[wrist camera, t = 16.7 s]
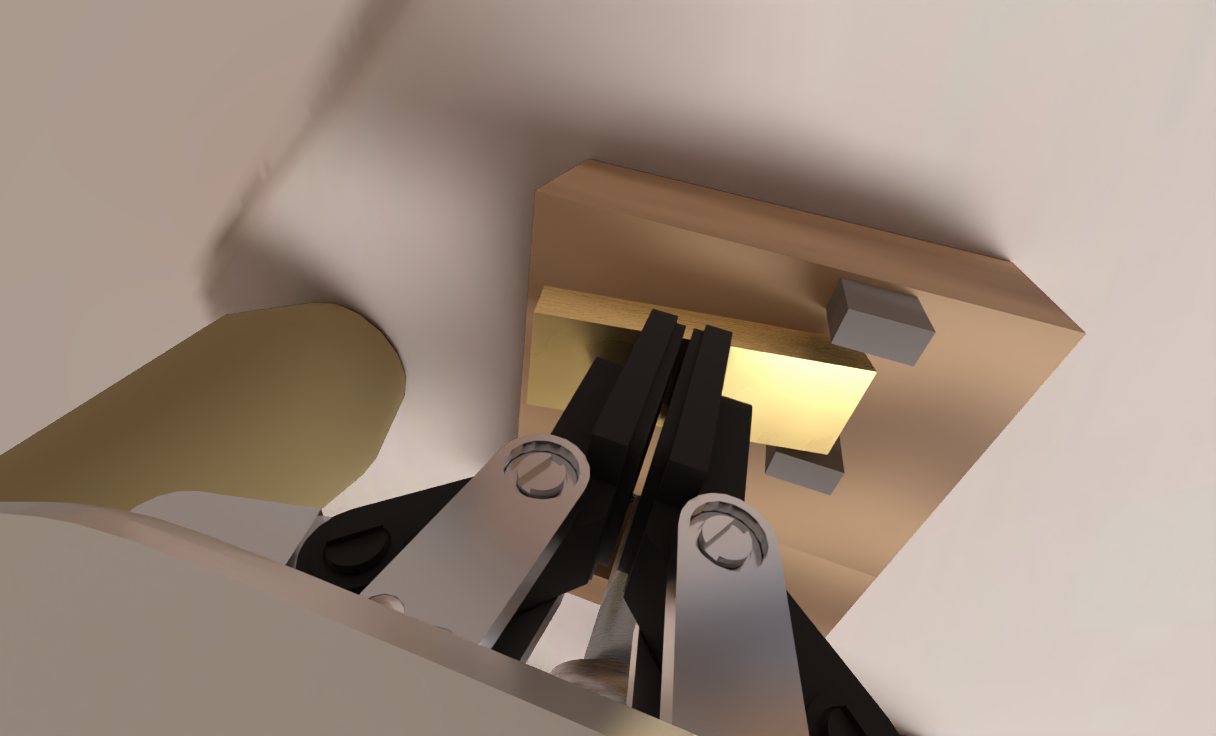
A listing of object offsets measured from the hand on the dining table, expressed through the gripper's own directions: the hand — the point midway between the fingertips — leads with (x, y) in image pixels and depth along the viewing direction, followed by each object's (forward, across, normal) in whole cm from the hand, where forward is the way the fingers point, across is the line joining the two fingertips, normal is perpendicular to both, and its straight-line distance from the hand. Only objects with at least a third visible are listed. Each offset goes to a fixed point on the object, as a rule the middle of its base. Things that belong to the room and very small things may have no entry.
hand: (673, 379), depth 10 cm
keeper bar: (+1, 0, 0) cm, 1 cm away
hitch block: (+6, -2, +6) cm, 9 cm away
